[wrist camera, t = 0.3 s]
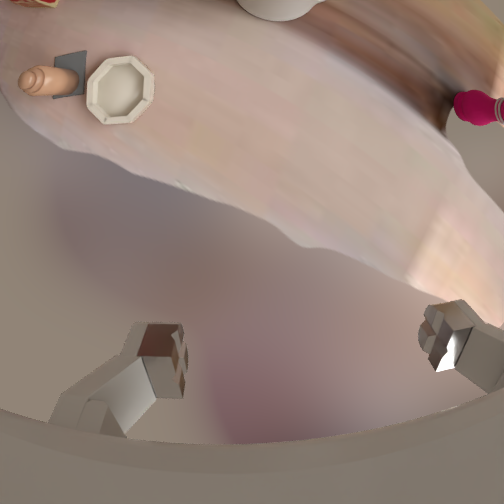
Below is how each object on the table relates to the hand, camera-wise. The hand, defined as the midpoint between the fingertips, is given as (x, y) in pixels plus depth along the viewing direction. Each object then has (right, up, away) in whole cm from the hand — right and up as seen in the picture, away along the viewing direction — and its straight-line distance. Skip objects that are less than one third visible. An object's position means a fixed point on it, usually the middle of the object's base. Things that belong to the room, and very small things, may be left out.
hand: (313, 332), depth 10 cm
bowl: (-24, +30, +36) cm, 53 cm away
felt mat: (-35, +35, +33) cm, 60 cm away
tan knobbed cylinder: (-35, +33, +34) cm, 59 cm away
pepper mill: (+41, +32, +38) cm, 64 cm away
